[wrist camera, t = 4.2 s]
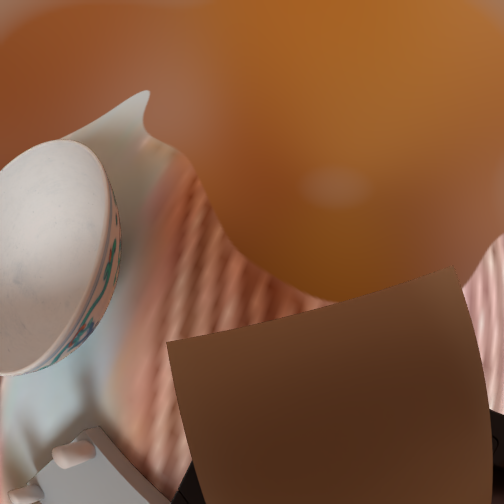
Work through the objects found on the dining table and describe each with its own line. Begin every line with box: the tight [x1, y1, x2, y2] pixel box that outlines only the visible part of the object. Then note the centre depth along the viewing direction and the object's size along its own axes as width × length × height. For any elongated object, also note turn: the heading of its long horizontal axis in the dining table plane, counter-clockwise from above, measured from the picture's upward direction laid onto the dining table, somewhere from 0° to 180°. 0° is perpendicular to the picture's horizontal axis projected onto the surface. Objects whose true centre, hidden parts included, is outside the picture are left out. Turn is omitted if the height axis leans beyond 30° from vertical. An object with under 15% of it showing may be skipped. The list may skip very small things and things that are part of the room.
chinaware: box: [0, 139, 121, 376], centre depth 16 cm, size 15×15×8 cm
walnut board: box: [166, 266, 493, 504], centre depth 8 cm, size 6×4×12 cm
